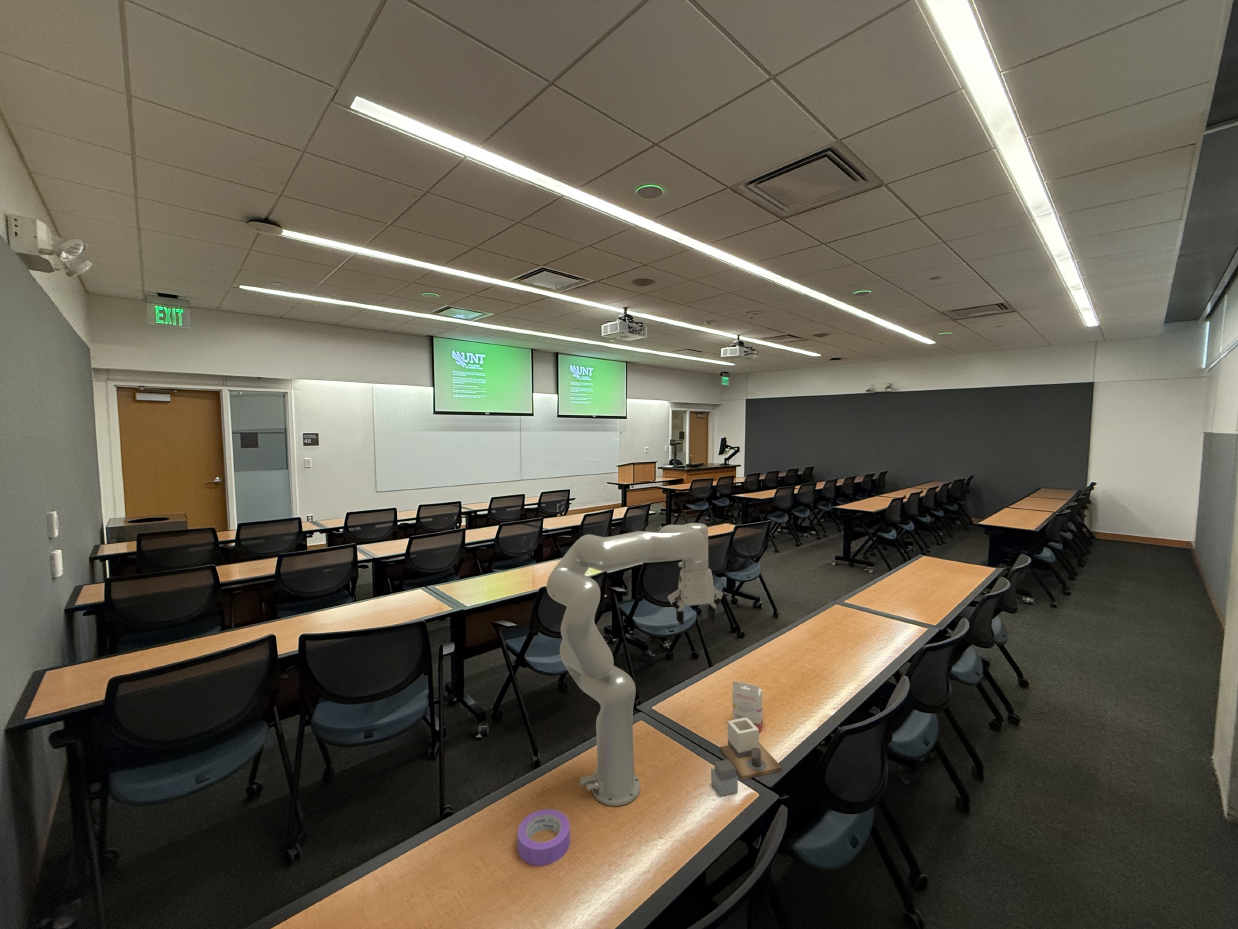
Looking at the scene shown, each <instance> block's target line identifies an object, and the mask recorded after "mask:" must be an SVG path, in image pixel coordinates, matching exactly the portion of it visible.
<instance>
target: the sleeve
mask: <svg viewBox="0 0 1238 929" xmlns="http://www.w3.org/2000/svg"><path fill="white" fill-rule="evenodd" d="M759 743H760V733H759V729H758V728H757V727H756V726H755V725H754V724H753V723H752V722H751V721H750V720H749V719H748V718H741V719H736V720H733V719H731V720H728V721H727V745H729V746H730V748H731V749H732V750H733V751H734V753H735V754H736V755H737V756H738V757H739V758H741V757H746V756H750V755H752V748H759Z"/></svg>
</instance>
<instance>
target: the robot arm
mask: <svg viewBox="0 0 1238 929" xmlns="http://www.w3.org/2000/svg"><path fill="white" fill-rule="evenodd" d="M673 561H680V562H678V563H677V564H678V567H679V568H681V569H680V572H679V578H678V586H677V587H678V588H677V589H676V590H675V591H673V592H672V593H670V594H668V595H667V600H668V601H669V602H670V605H671V606H672V607H673V608H674V609H675V611H676V614H675V616H676V621H677V622H678V624H679V625H680V626H683V625H684V624H685V621H684V620H685V619H684V618H685V616H684V613H685V612H684V611H683V609H684V608H685V606H701V605H707V620H709V621H710V622H712V623H713V622H714V623H715V618H716V608H717V607H718V605H719V604H720V602H721V599H723V598H722V597H723V596H724V592H723V591H722V590H719V589H717V588H715V586H714V585H715V584H714V578H713V573H712V569H710V568H709V529H708V526H707V525H706V524H704V523H699V522H690V523H685V524H668V525H664V526H662V527H661V528H660V529H659V530H658V532H656V531H655V532H654V531H644V530H643V531H641V530H639V531H632V532H631V531H630V532H628V533H627V532H626V533H623V534H622V533H621V534H615V535H612V536H611V535H610V536H600V535H594V534H590V533H589V534H585V535H582V536H580V537H579V539H577V540H576V541H575V542H574V543H573V544H572V546H570V548H569V549H568V550H567V551H566V553H565V554H564V555H563V556H562V558H561V559H560V561H559V562H558V563H557V564H556V566H555V567H554V568H553V570H552V571H551V573H550V574H549V576H548V578H547V582H546V591H547V594H548V596H549V597H550V598H551V599H552V600H553V601H555V602H557V603H559V604H561V605H564V606H565V607H566V609H565V611H564V614H563V617H562V619H561V620H562V621H561V624H560V636H561V638H562V640H561V642H560V646H559V655H560V658H561V662H562V663H563V665H564V667H565V668H566V670H567V672H568V673H569V674H570V676H571V677H572V679H573V680H574V682H575V683H576V684H577V686H578V687H579V689H581V691H582V692H583V693H585V694H586V695H588V696H589V697H591V698H592V699H593V700H594V701H596V702H597V703H599V705H600V706H599V707H600V710H599V712H598V714H597V717H596V721H595V725H596V726H595V729H596V730H595V733H596V755H597V756H596V757H597V758H596V759H597V760H596V761H597V762H596V763H597V764H596V765H597V768H596V767H595V768H594V773H591V774H590V775H588V776H587V775H586V776H585V775H584V776H582V777H579V785H580V787H583V786H584V787H585V788H586V791H592V794H593V796H594V798H595V799H596V800H597V801H599V803H602V804H603V805H607V806H613V807H616V806H617V807H618V806H622V805H623V806H625V805H626V804H630V803H631V802H632V801H634V800H635V799H636V798H637V797H638V795H639V794H640V791H641V782H640V779H639V777H638V775H636V774H635V767H634V766H635V763H634V761H635V760H634V758H635V757H634V756H635V755H634V726H633V725H634V724H633V723H634V721H633V720H634V719H633V718H634V716H633V714H634V712H633V711H634V703H635V698H636V693H637V692H636V683H635V681H634V680H633V678H632V677H631V676H630V675H629V674H628V673H627V672H625V671H624V670H623V669H621V668H619V667H617V666H615V665H614V663H615V662H614V656H613V653H612V652H613V651H611V648H610V647H609V644H607V642H606V640H605V639H604V637H603V635H602V634H601V631H600V630H599V629H598V627H597V625H596V623H595V616H596V613H597V609H598V607H599V604H600V600H601V589H600V586H599V584H598V583H597V582H596V580H595V579H593V578H591V577H590V576H587V575H586V573H587V571H588V570H589V569H592V570H596V571H600V572H612V571H615V570H619V569H624V568H626V567H631V566H634V565H639V564H644V563H645V564H646V563H650V564H651V563H661V562H673ZM715 594H716V595H715ZM676 598H678V601H677V603H676V600H675V599H676Z"/></svg>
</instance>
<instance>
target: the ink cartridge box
mask: <svg viewBox="0 0 1238 929" xmlns="http://www.w3.org/2000/svg"><path fill="white" fill-rule="evenodd" d="M731 691H732V720H736V719H741V718H748V719H749V720H750V721H751V722H752V723H753V724H754V725H755V726H756V727H757V728H758V729H759V734H760V733H761V731H762V729H763V726H764V720H763V719H764V718H763V717H764V714H763V689H762V688H760V687H759V686H758V685H756V684H751V683H746V682H742V681H737V680H733V681H732V690H731Z"/></svg>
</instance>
